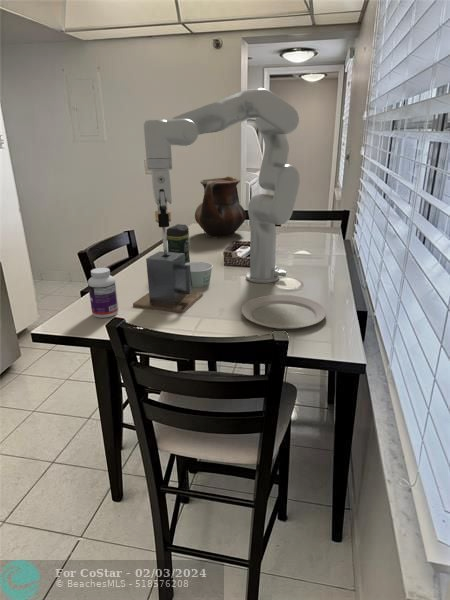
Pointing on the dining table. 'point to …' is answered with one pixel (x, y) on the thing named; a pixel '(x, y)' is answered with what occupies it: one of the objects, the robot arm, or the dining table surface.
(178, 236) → the coffee jar
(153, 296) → the block on wooden base
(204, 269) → the food container
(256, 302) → the plate
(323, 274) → the dining table surface
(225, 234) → the jug
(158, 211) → the plunger
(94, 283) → the pill bottle
